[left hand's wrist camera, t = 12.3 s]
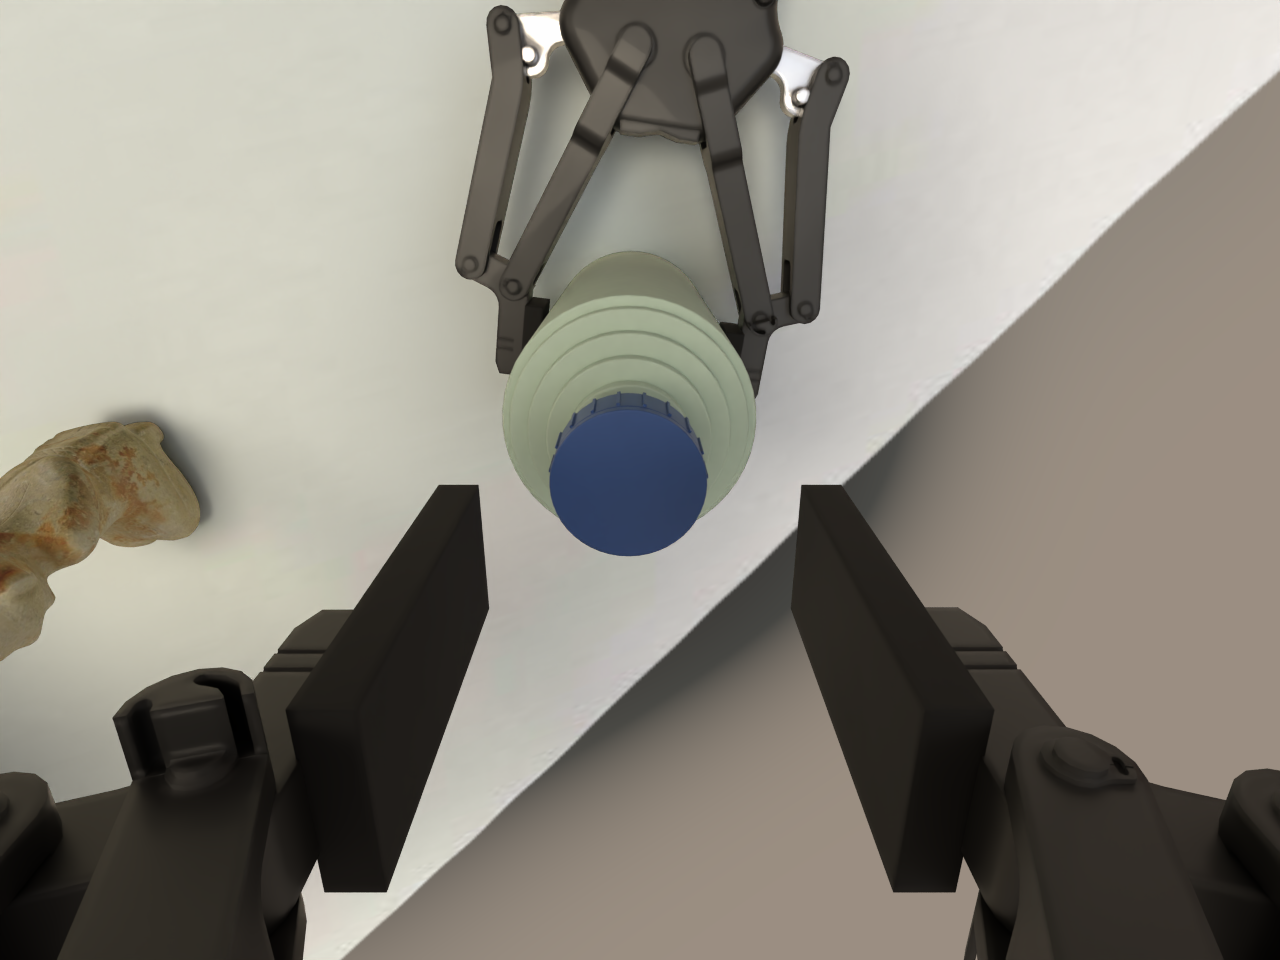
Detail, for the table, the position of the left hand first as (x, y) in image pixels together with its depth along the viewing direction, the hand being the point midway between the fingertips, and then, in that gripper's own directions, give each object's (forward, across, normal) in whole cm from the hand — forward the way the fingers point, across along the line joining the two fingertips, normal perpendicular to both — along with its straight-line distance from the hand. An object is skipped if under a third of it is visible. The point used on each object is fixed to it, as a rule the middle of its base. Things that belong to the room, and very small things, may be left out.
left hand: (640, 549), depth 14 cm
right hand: (+19, -1, -5) cm, 20 cm away
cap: (+4, 0, 0) cm, 4 cm away
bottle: (+26, 0, 0) cm, 26 cm away
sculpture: (+25, -27, -8) cm, 38 cm away
